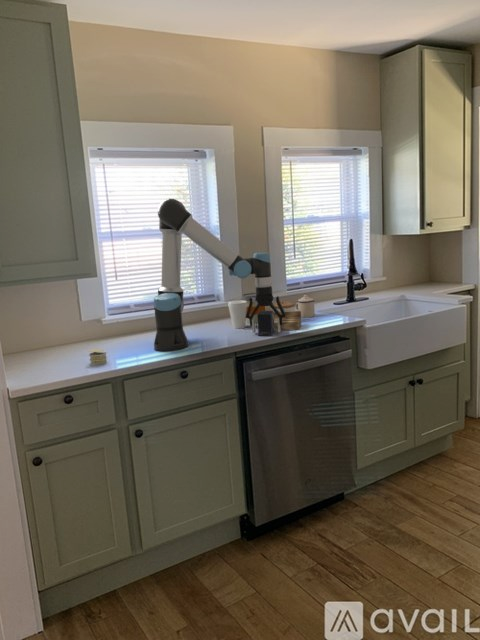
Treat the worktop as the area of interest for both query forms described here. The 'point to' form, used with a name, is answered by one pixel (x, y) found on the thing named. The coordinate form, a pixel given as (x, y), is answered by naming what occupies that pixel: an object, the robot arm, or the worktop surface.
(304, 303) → the teacup with lid
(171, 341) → the robot arm
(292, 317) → the dock
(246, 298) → the reusable coffee cup
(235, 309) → the foam cup
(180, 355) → the worktop surface
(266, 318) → the small box
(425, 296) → the worktop surface
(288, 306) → the lidded bowl
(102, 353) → the stacked layers on plate
